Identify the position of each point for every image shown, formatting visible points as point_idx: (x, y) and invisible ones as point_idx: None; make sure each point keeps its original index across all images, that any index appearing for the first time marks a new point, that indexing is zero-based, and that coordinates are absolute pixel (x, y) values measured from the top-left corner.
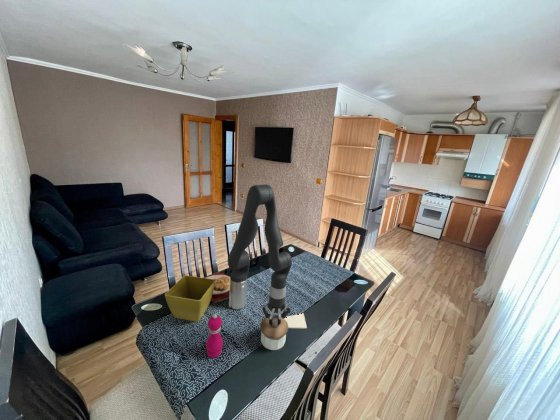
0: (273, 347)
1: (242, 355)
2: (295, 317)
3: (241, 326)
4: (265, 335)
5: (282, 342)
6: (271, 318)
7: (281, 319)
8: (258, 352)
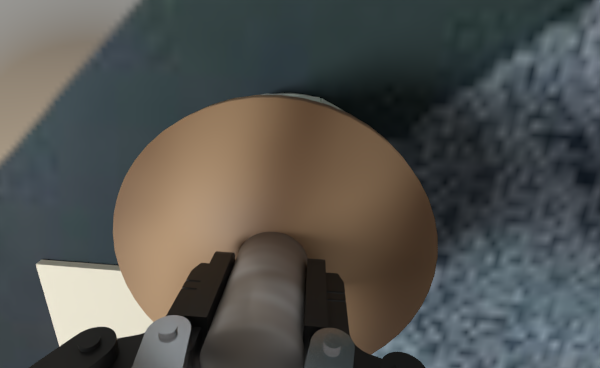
0: (294, 96)
1: (552, 56)
2: None
3: (501, 303)
4: (390, 144)
5: None
6: (317, 341)
7: None
8: (416, 78)
